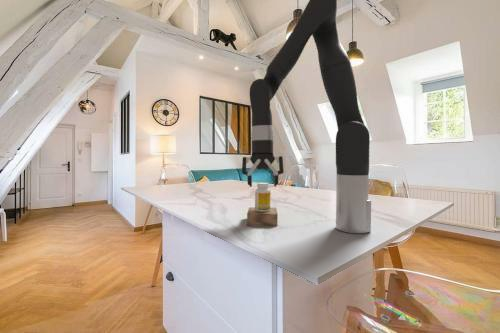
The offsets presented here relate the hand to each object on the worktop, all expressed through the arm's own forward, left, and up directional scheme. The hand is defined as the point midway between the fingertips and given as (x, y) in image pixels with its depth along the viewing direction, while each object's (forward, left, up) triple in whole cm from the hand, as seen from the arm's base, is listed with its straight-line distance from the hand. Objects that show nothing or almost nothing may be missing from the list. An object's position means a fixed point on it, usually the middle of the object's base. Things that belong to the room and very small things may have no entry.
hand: (262, 186), depth 81 cm
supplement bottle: (0, 0, -9) cm, 9 cm away
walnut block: (0, 0, -13) cm, 13 cm away
